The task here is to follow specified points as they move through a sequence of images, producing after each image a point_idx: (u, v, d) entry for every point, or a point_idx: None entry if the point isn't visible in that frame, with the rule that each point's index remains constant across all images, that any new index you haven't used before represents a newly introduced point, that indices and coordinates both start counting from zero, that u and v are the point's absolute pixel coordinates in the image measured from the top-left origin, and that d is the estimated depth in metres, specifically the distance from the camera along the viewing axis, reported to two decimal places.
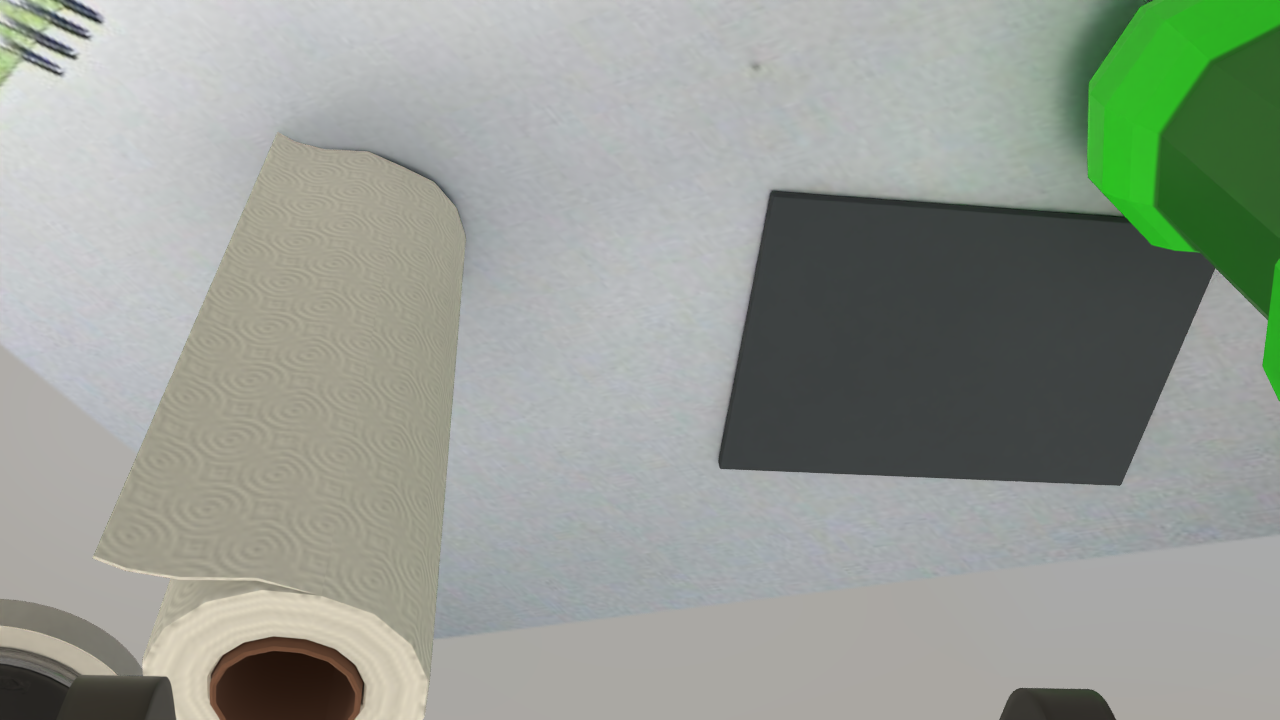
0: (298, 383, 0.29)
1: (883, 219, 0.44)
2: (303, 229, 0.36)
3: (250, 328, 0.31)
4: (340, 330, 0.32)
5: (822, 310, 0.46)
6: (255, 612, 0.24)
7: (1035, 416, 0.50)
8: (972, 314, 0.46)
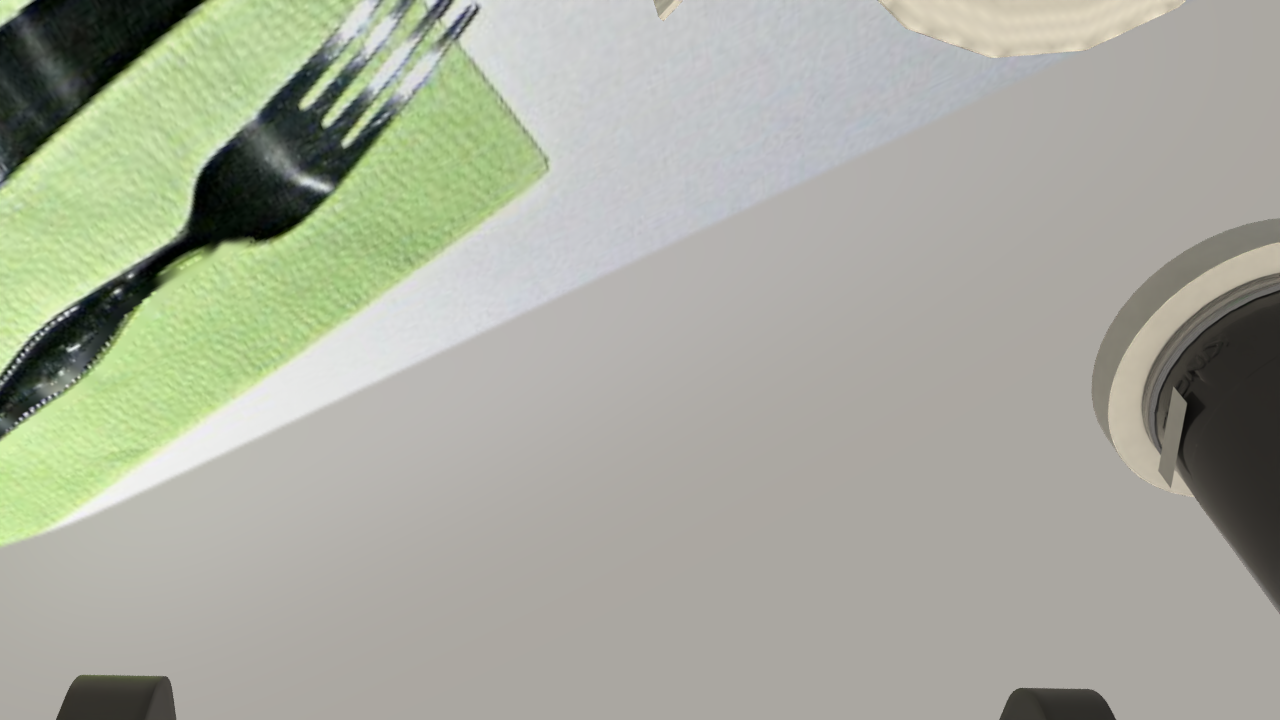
0: None
1: None
2: None
3: None
4: None
5: None
6: None
7: None
8: None
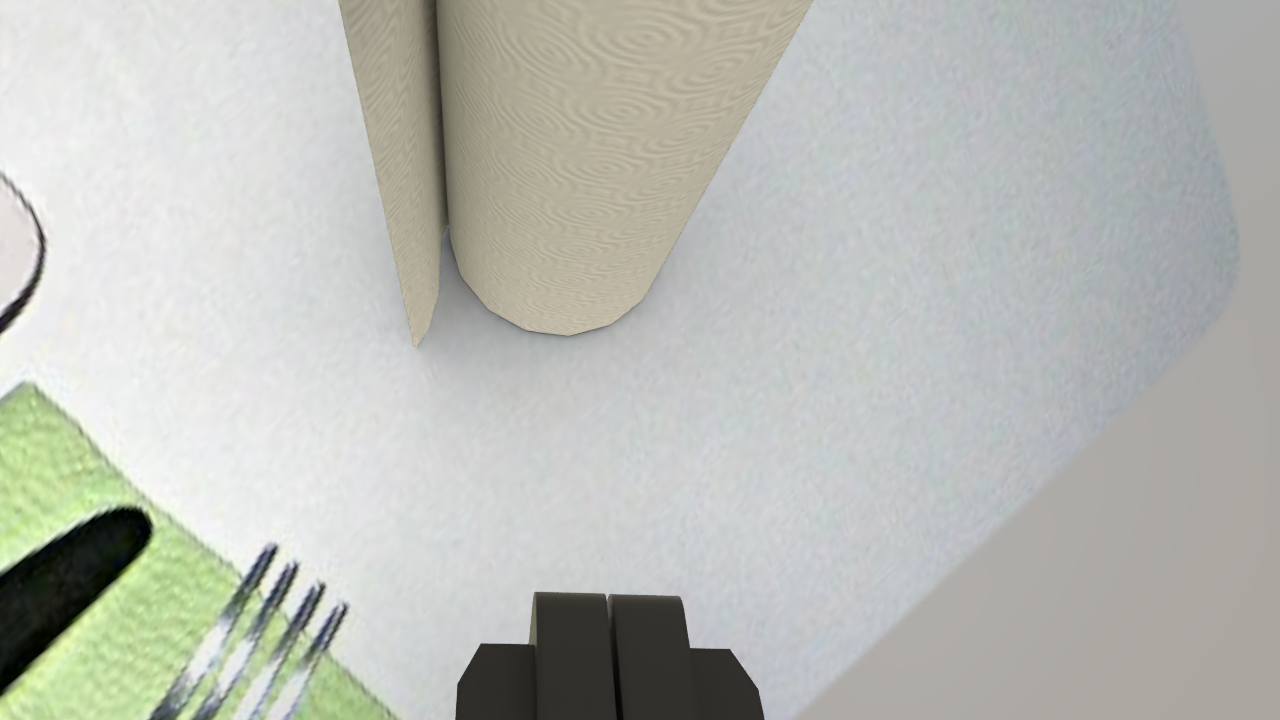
0: None
1: None
2: (432, 220, 0.27)
3: None
4: None
5: None
6: None
7: None
8: None
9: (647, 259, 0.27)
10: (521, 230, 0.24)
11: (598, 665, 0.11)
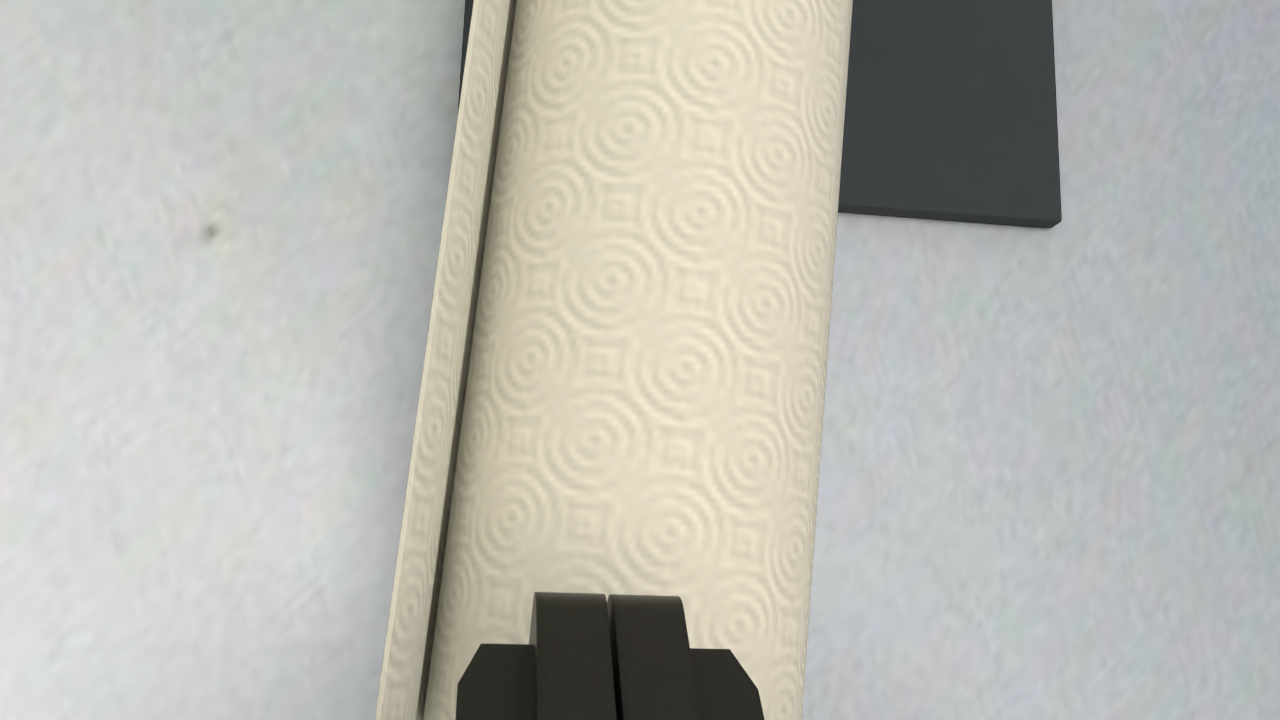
0: None
1: None
2: (463, 347, 0.18)
3: None
4: None
5: None
6: None
7: None
8: None
9: (788, 359, 0.18)
10: (617, 195, 0.18)
11: (598, 665, 0.11)
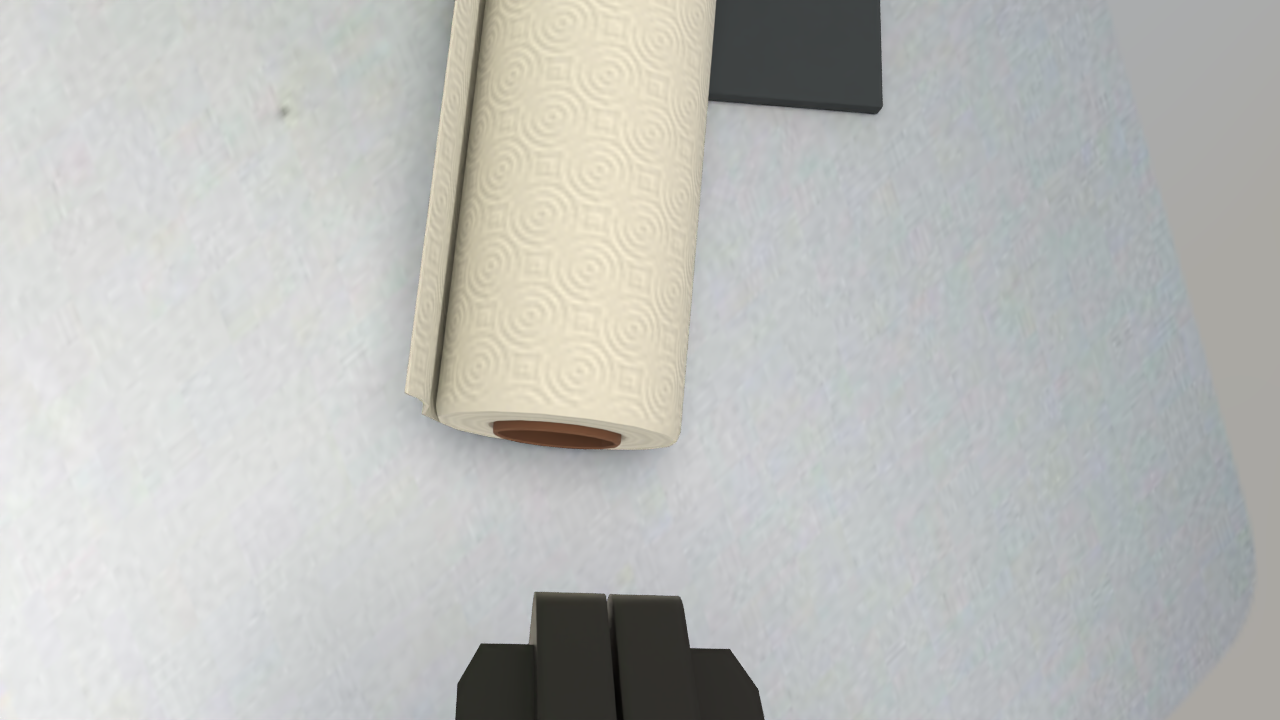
0: None
1: None
2: (459, 161, 0.28)
3: None
4: None
5: None
6: None
7: None
8: None
9: (667, 169, 0.28)
10: (556, 64, 0.28)
11: (598, 665, 0.11)
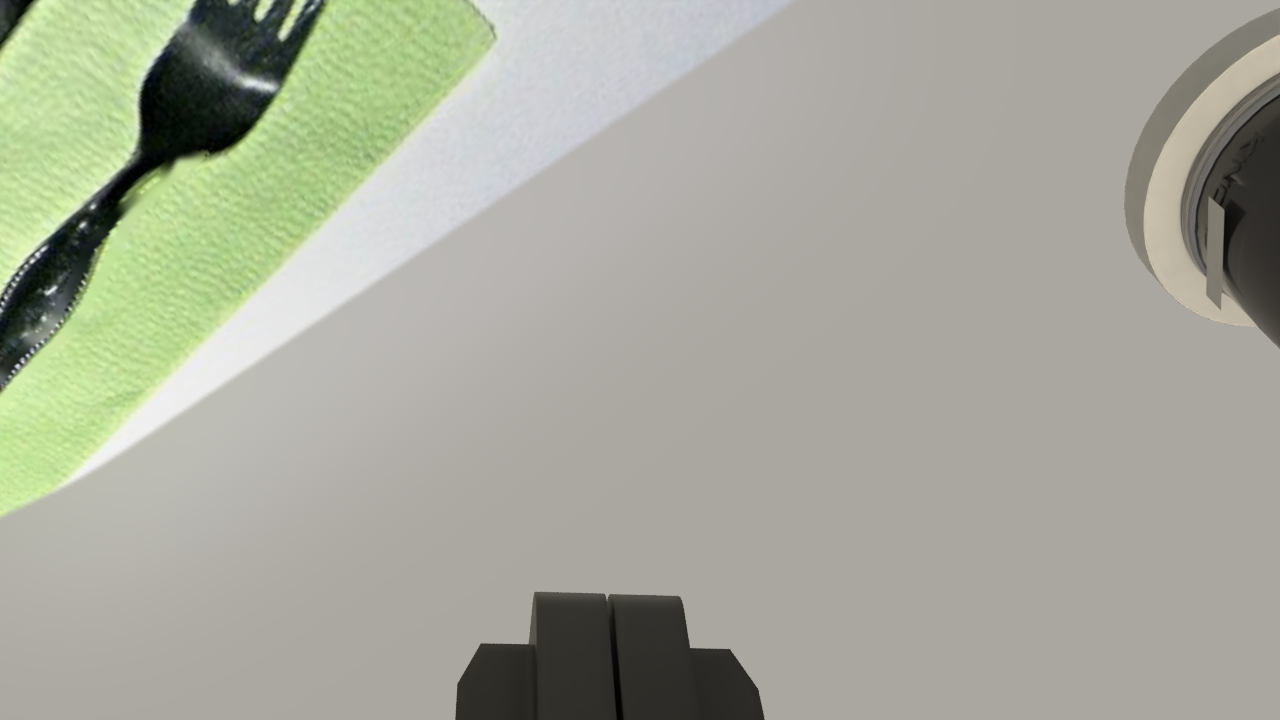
0: None
1: None
2: None
3: None
4: None
5: None
6: None
7: None
8: None
9: None
10: None
11: (598, 665, 0.11)
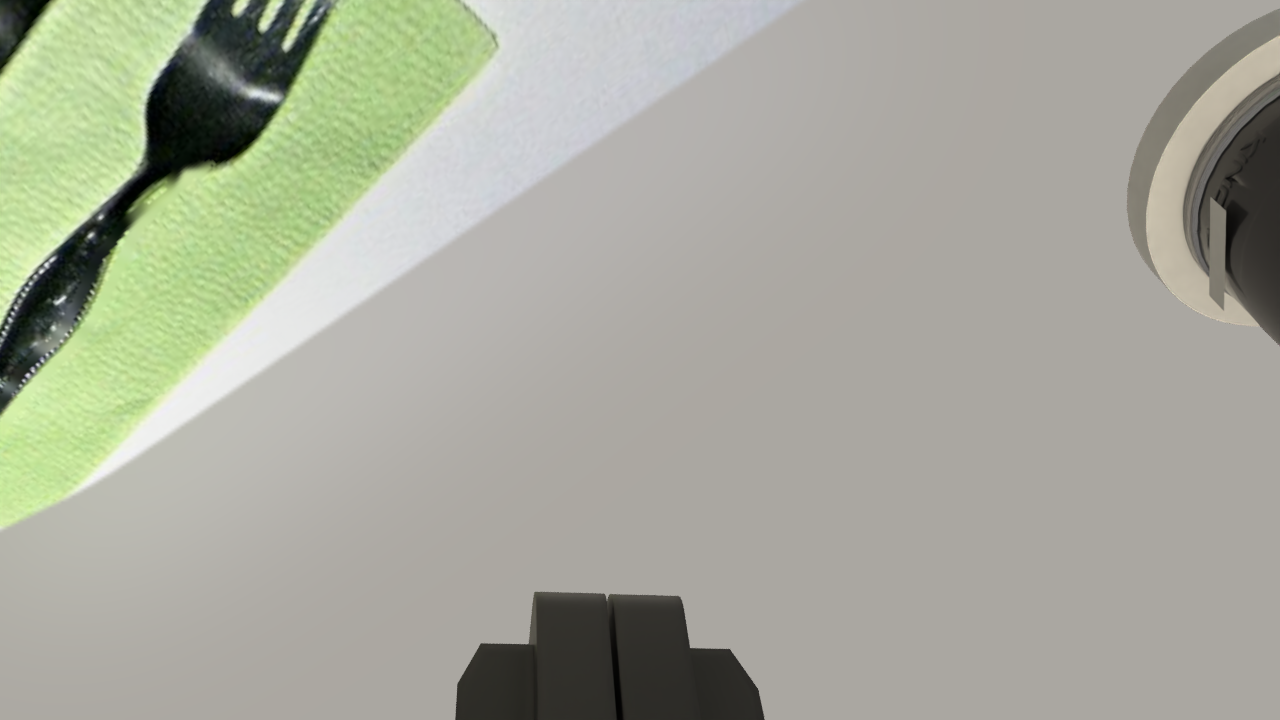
0: None
1: None
2: None
3: None
4: None
5: None
6: None
7: None
8: None
9: None
10: None
11: (598, 665, 0.11)
